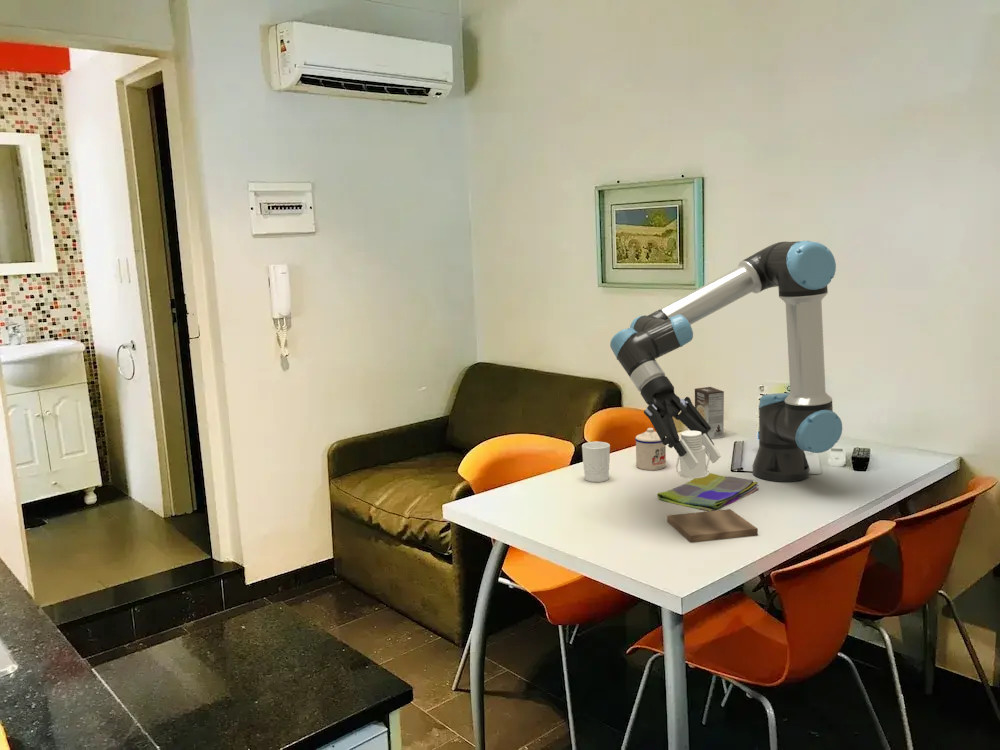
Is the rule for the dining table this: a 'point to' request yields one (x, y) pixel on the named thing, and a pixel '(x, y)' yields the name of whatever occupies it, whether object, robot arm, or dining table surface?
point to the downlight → (698, 450)
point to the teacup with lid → (650, 451)
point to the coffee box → (711, 409)
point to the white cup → (596, 461)
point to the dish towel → (709, 492)
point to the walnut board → (711, 525)
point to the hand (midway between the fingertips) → (705, 462)
